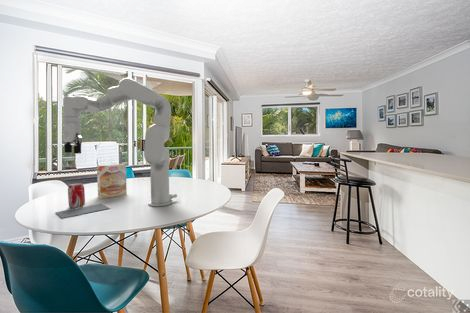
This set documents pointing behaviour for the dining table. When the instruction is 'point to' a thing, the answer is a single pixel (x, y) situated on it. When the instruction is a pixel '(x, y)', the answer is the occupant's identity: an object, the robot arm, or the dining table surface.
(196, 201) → the dining table surface
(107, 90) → the robot arm
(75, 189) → the soda can
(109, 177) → the coffeecake box
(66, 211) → the mat
